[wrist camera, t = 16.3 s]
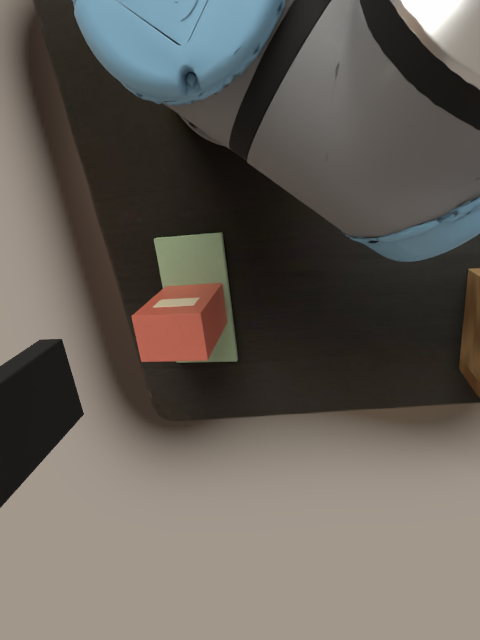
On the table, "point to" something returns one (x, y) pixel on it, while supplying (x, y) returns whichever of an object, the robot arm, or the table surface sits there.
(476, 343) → the wooden l-shaped stand
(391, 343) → the table surface
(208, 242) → the mat
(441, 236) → the robot arm
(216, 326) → the packet
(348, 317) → the table surface
